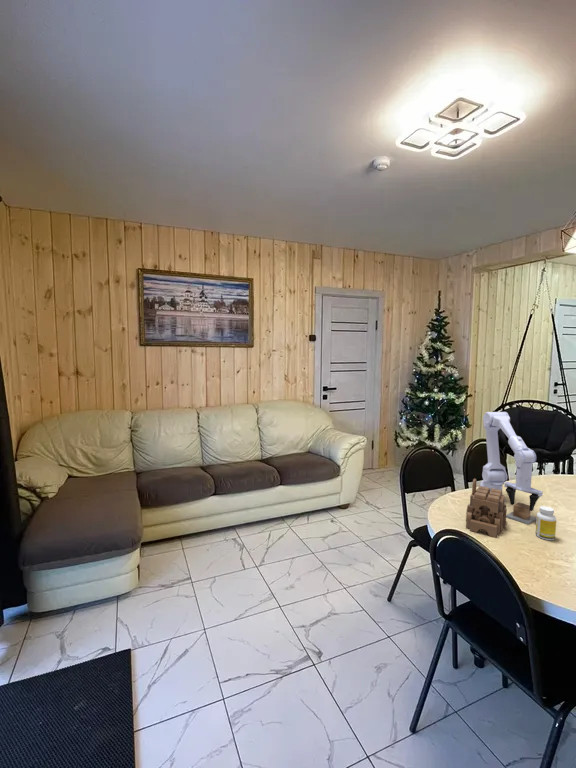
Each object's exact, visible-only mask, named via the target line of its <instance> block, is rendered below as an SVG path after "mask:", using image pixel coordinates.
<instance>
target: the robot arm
mask: <svg viewBox="0 0 576 768" xmlns="http://www.w3.org/2000/svg"><path fill="white" fill-rule="evenodd" d="M482 419H483V420H482V421H483V428H484V430H485V436H486V437H485V439H486V451H487V452H486V454H487V463H486V464H485V465H483V466H482V474H481V476H482V479H483V480H482V481H481V482H480V483H479V484H480V485H479V486H482V487H488V488H490V490H491V488H493V489H498V490H502V491H503V487H504V488H505V493H507V496H508V499H509V503H510V506H514V504H515V503H516V502H515V501H516V500H515V499H516V498H515V497H516V491H520V492H523V493H527V494H530V495H529V505H530V508H529V510H530V511H531V512H532V511H534V509H535V506H536V504H537V502H538V500H539V499H540V497H543V491H542V490H539V489H536V488H533V487H532V478H533V477H532V474H533V464H535V463H536V462H537V454H536V452H535V451H534V450H533V449H531V448H529V447H528V446H527V445H526V443H525V441H524V440H523V438H522V437H521V436H519V435H517V434H516V432H515V430H514V428H513V426H512V424H511V417H510V415H509V413H508V412H507V411H486V412H485V413H484V415H483V416H482ZM500 429H501V431H502V433H504V434H505V436H506V437H507V438H508V440H507V443H508V445H509V447H510V448H511V450H512V451H513V453H514V455H513V457H514V458H513V459H514V461H515V467H516V474H515V482H513V483H512V482H509V481H508V474H507V471H506V466H504V465H503V464H502V463H501V459H500V448H499V447H500V446H499V434H498V433H499V431H500ZM503 485H504V486H503Z"/></svg>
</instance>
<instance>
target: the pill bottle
mask: <svg viewBox="0 0 576 768" xmlns="http://www.w3.org/2000/svg"><path fill="white" fill-rule="evenodd" d="M554 514H555V509H554V508H553V507H550V506H544V505H541V506H539V512H537V513H536V516H535V517H536V520H535V535H536V536H537V537H538V538H540V539H542V540H545V541H554V540H555V539H556V532H557V531H556V530H557V517H556V516H555V515H554Z"/></svg>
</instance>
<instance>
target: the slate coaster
mask: <svg viewBox="0 0 576 768" xmlns="http://www.w3.org/2000/svg"><path fill="white" fill-rule="evenodd" d="M506 519H510V520H513V521H515V522H519V523H522V524H525V525H531V524H532V523H533V522H536V516H533V515H530V517H529V518H528V519H526V520H525V519H521V518H518V517H515V516H513V511H511V512H509V513H508V514H506Z"/></svg>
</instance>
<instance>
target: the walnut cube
mask: <svg viewBox="0 0 576 768" xmlns="http://www.w3.org/2000/svg"><path fill="white" fill-rule="evenodd" d="M529 508H530V504H525V503H523V502H519V501H518V502H515V503H514V504H513V511H512V512H513V516H515V517H518V518H521V519H525V520H526V519H528V518H529V517H530V516H531V512H532V511H530V510H529Z"/></svg>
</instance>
